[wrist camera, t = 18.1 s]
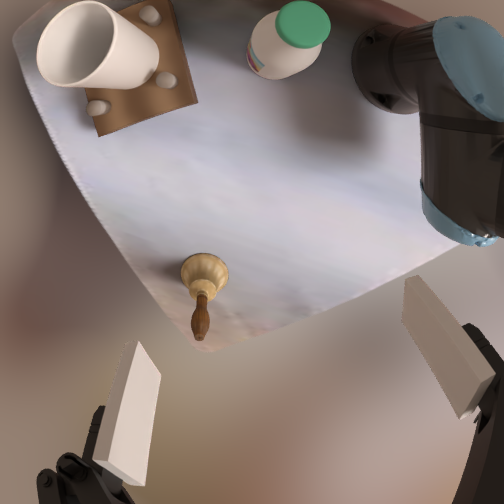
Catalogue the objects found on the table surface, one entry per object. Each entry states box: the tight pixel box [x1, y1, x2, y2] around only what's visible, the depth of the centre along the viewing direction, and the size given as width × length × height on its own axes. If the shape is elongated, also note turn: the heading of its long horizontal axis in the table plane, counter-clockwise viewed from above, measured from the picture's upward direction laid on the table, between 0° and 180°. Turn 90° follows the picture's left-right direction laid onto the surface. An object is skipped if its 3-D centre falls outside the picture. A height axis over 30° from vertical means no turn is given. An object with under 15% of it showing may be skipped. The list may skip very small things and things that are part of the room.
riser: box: [85, 0, 198, 137], centre depth 32 cm, size 14×17×9 cm
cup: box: [36, 1, 159, 89], centre depth 24 cm, size 8×8×16 cm
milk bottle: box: [246, 1, 331, 80], centre depth 28 cm, size 8×8×20 cm
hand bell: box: [181, 253, 228, 341], centre depth 45 cm, size 8×8×16 cm
